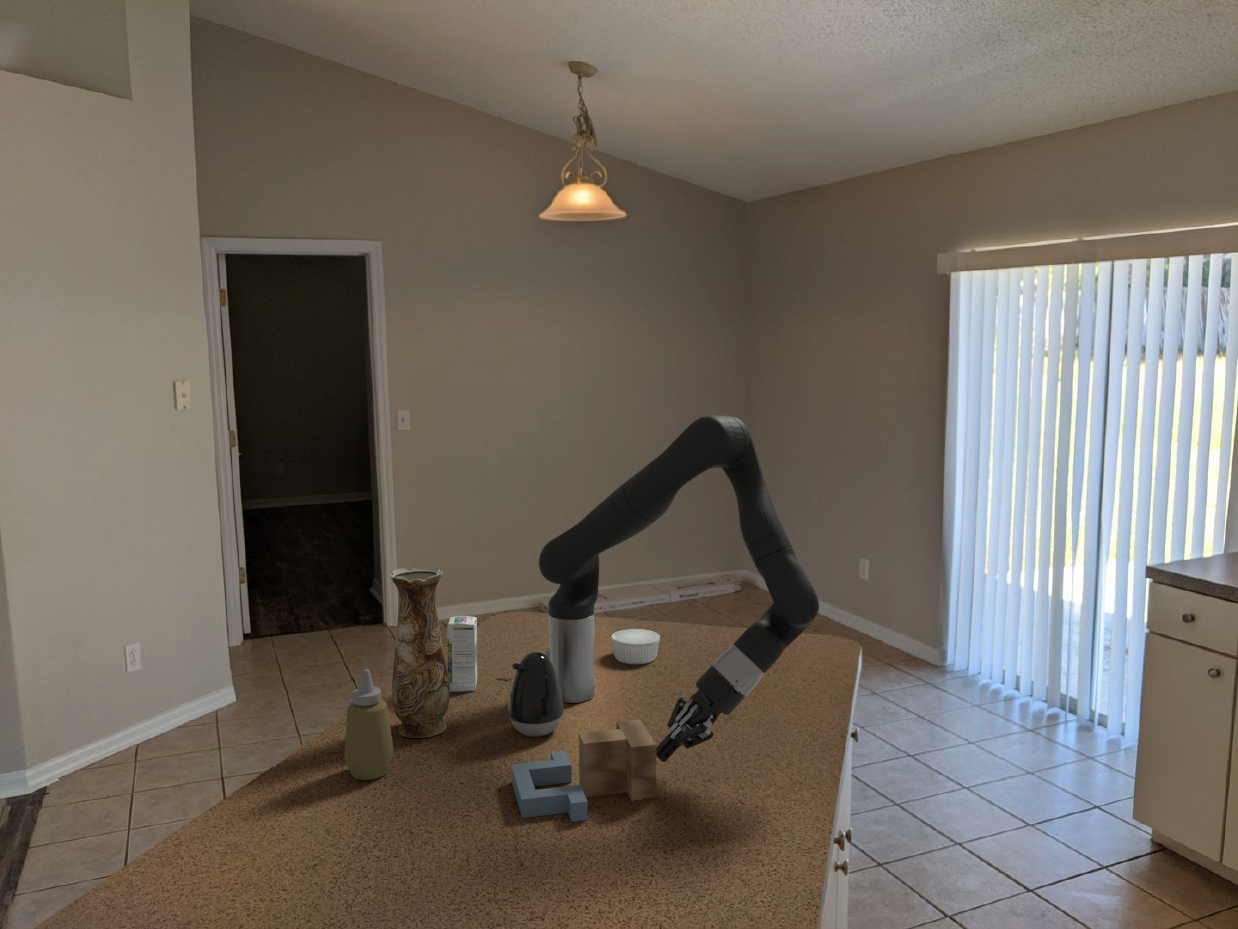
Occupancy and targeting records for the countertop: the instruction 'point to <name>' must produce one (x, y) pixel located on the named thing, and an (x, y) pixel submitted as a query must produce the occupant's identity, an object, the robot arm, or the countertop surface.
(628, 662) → the ramekin
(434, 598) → the vase
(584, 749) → the t block
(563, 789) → the t socket
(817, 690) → the countertop surface
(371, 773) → the squeeze bottle
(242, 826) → the countertop surface
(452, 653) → the syrup box
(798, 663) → the countertop surface
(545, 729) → the roly-poly penguin toy
